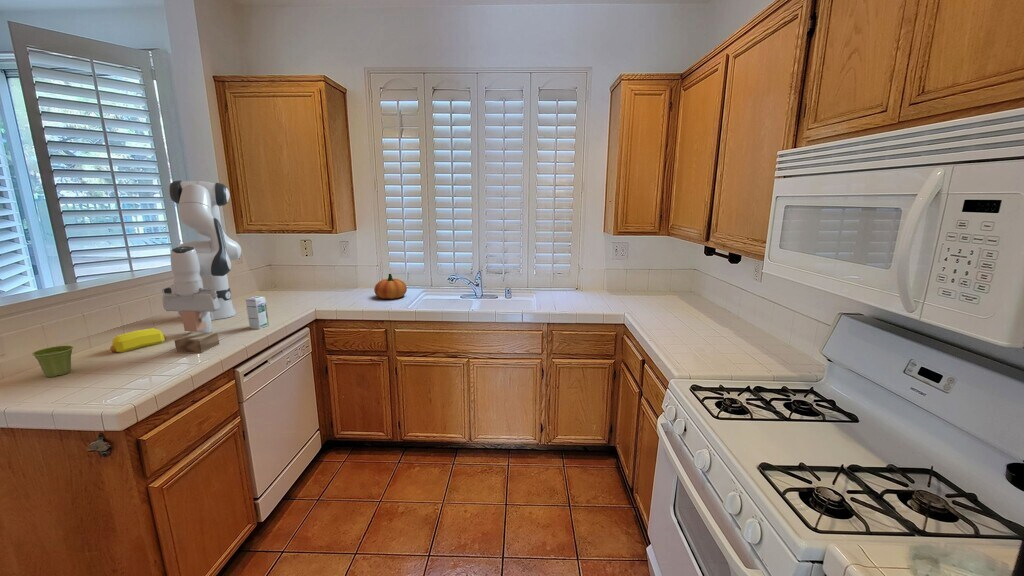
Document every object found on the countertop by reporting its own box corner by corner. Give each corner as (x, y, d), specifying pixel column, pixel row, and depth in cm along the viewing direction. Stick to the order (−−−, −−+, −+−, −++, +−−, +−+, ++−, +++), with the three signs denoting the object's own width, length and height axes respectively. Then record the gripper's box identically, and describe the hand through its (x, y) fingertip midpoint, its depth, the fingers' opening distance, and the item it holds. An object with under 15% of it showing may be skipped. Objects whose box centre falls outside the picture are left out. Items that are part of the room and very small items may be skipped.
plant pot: (57, 368, 146) (51, 345, 144) (85, 367, 147) (80, 345, 145) (29, 379, 137) (23, 355, 135) (60, 379, 138) (54, 354, 136)
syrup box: (259, 329, 192) (256, 299, 189) (249, 328, 193) (245, 298, 190) (269, 325, 198) (265, 296, 194) (258, 324, 199) (255, 295, 196)
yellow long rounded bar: (170, 342, 174) (162, 339, 178) (168, 327, 173) (160, 324, 176) (114, 355, 159) (107, 351, 163) (111, 339, 157) (103, 335, 161)
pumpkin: (398, 292, 271) (397, 270, 268) (412, 297, 257) (411, 274, 254) (369, 296, 258) (368, 273, 255) (383, 302, 244) (382, 277, 241)
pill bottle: (216, 331, 188) (212, 299, 185) (198, 336, 181) (193, 303, 178) (204, 329, 191) (199, 298, 188) (186, 334, 183) (181, 302, 180)
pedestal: (176, 352, 162) (174, 339, 161) (195, 343, 172) (193, 331, 171) (201, 352, 162) (199, 340, 161) (219, 344, 172) (217, 332, 171)
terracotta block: (184, 331, 163) (181, 311, 161) (194, 327, 168) (191, 308, 166) (197, 331, 163) (194, 311, 161) (206, 327, 168) (203, 308, 166)
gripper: (220, 286, 165) (225, 319, 168) (170, 286, 165) (176, 319, 168) (209, 290, 159) (214, 324, 161) (157, 289, 159) (163, 323, 162)
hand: (194, 321), depth 165 cm, fingers closed on terracotta block, 5 cm apart
